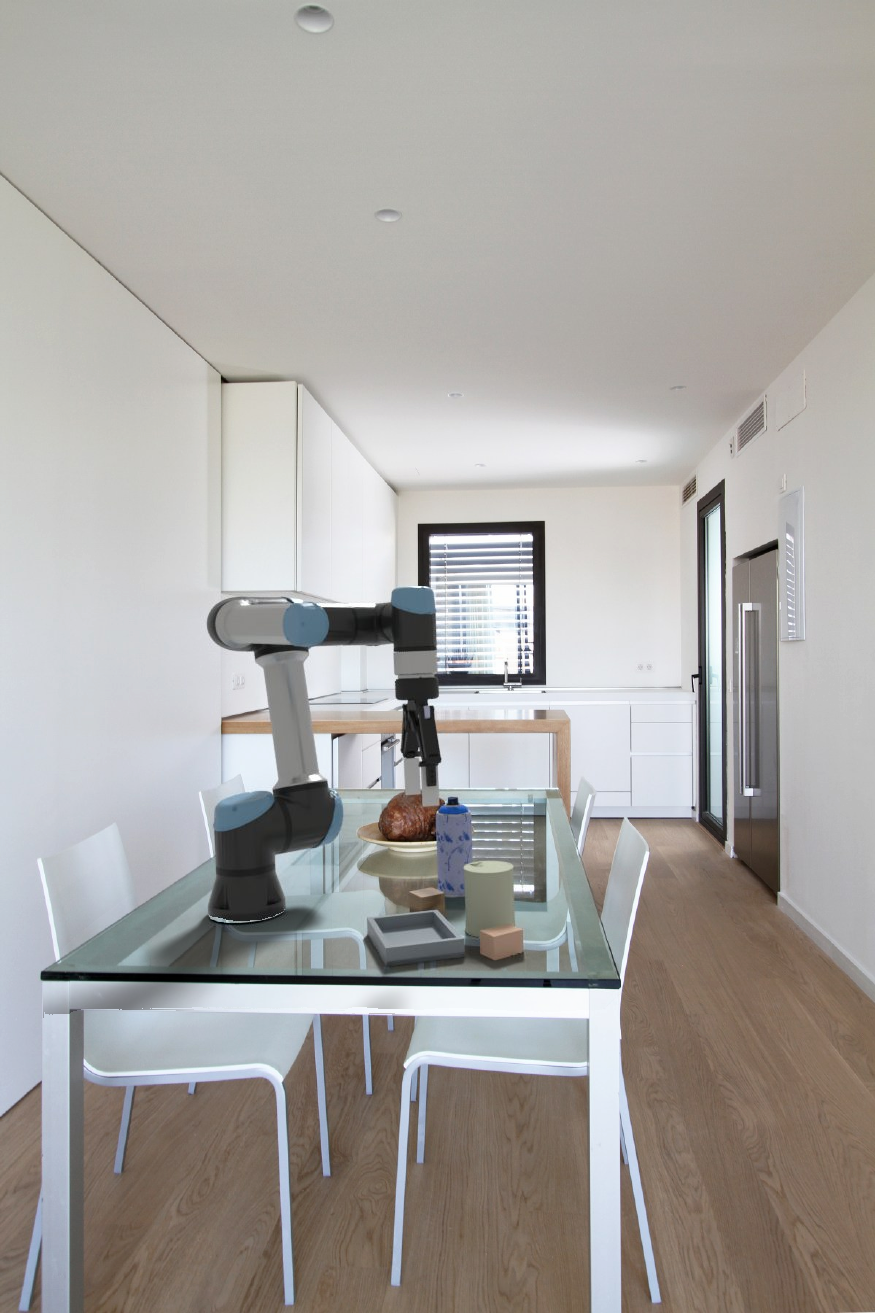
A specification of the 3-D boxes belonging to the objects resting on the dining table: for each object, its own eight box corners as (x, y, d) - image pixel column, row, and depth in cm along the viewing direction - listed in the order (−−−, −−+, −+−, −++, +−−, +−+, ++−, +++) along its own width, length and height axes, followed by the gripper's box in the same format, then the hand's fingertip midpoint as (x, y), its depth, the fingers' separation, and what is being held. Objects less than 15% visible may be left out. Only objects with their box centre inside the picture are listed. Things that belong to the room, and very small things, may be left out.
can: (485, 919, 162) (482, 855, 162) (525, 927, 156) (523, 861, 156) (454, 932, 155) (452, 866, 155) (496, 942, 149) (494, 873, 149)
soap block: (494, 961, 140) (493, 936, 140) (480, 954, 143) (479, 930, 143) (523, 953, 143) (522, 929, 143) (508, 947, 146) (508, 923, 146)
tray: (464, 956, 142) (463, 938, 142) (386, 966, 138) (385, 948, 138) (437, 926, 158) (437, 909, 158) (367, 934, 155) (366, 917, 155)
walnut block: (422, 924, 160) (421, 897, 160) (409, 917, 164) (408, 891, 164) (445, 919, 163) (444, 893, 163) (432, 913, 167) (431, 887, 167)
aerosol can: (481, 890, 182) (478, 795, 182) (461, 899, 175) (458, 801, 175) (450, 885, 186) (447, 793, 186) (430, 894, 180) (426, 799, 180)
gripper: (456, 675, 136) (462, 809, 136) (421, 675, 161) (425, 788, 160) (410, 677, 135) (416, 813, 134) (381, 677, 159) (386, 791, 159)
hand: (421, 800), depth 147 cm, fingers open, 13 cm apart
